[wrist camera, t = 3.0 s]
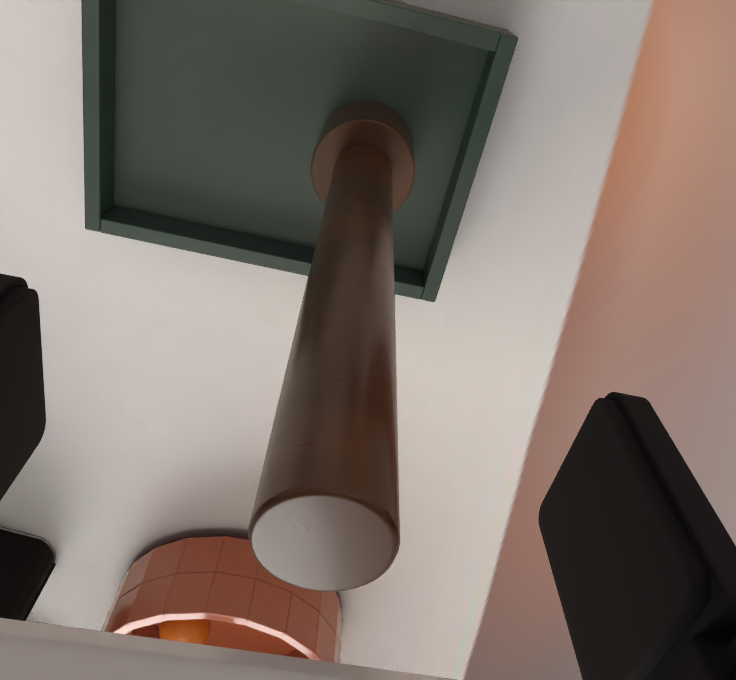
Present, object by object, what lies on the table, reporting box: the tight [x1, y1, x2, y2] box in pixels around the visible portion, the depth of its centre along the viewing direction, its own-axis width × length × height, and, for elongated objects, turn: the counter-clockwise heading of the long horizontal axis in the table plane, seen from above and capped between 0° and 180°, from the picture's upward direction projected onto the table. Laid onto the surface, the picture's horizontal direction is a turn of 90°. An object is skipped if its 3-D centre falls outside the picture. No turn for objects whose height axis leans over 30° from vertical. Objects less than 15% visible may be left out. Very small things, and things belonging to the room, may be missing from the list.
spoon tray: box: [81, 0, 518, 302], centre depth 24 cm, size 14×10×2 cm
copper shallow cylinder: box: [101, 536, 343, 663], centre depth 38 cm, size 14×14×6 cm
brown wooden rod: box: [248, 100, 415, 592], centre depth 16 cm, size 4×4×19 cm
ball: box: [159, 619, 211, 645], centre depth 38 cm, size 3×3×3 cm
